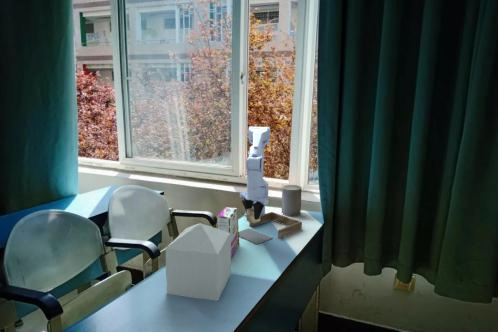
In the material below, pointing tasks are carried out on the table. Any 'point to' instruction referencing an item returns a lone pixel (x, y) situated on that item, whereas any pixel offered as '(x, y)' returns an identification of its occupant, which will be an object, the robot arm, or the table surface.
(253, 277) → the table surface
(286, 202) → the pillar candle
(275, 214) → the open wooden frame
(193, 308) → the table surface
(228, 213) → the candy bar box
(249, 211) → the birch block
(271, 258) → the table surface
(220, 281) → the decorative block
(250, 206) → the robot arm
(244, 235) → the mat
